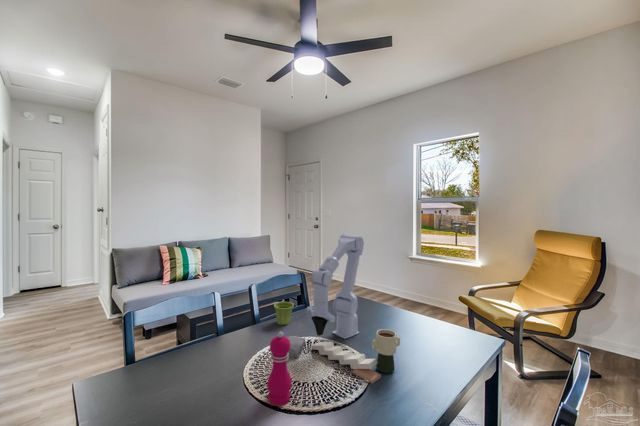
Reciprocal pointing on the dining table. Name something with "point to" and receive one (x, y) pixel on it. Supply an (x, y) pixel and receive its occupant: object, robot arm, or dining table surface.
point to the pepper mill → (279, 371)
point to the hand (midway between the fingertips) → (319, 334)
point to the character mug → (385, 349)
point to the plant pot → (283, 312)
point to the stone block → (295, 346)
